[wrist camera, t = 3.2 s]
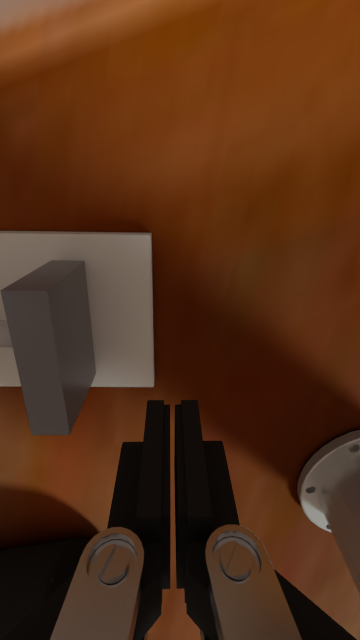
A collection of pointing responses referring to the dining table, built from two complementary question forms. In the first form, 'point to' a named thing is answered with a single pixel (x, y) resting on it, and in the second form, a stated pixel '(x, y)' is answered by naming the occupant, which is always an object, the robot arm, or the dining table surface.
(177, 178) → the dining table surface
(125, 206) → the dining table surface
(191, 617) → the robot arm
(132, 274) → the press frame
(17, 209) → the dining table surface
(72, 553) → the portable speaker
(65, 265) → the grey t-shaped bar
